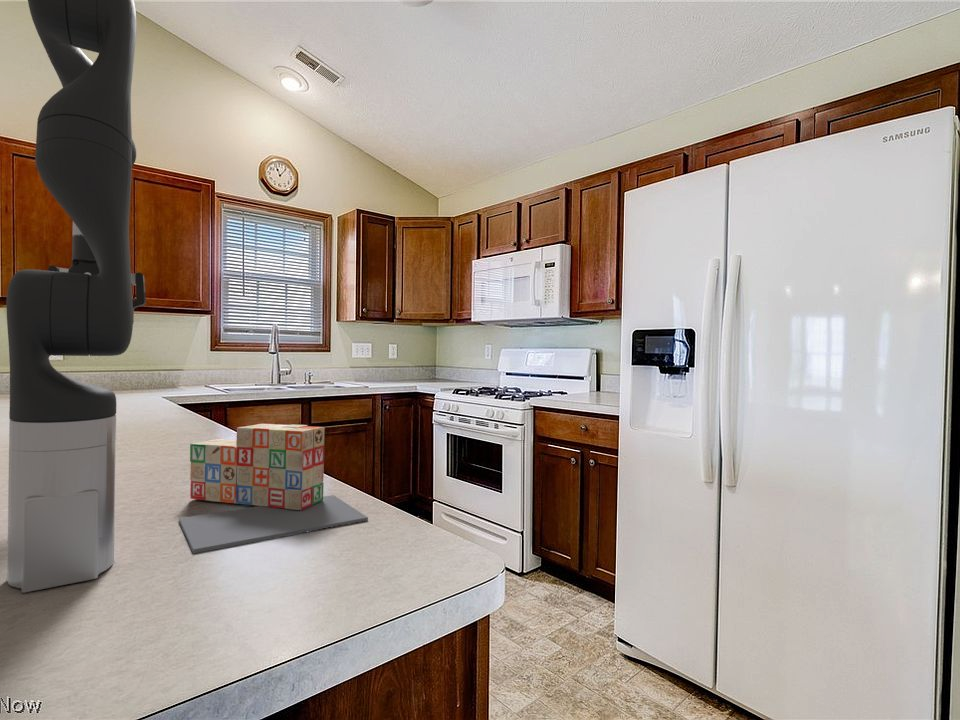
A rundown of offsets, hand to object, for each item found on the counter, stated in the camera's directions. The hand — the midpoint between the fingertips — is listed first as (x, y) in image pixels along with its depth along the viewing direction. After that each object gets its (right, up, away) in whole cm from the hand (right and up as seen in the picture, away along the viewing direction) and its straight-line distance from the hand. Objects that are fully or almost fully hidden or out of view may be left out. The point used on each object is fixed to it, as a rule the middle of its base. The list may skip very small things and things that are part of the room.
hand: (97, 327), depth 92 cm
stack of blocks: (+32, -29, -8) cm, 44 cm away
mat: (+39, -30, -17) cm, 52 cm away
